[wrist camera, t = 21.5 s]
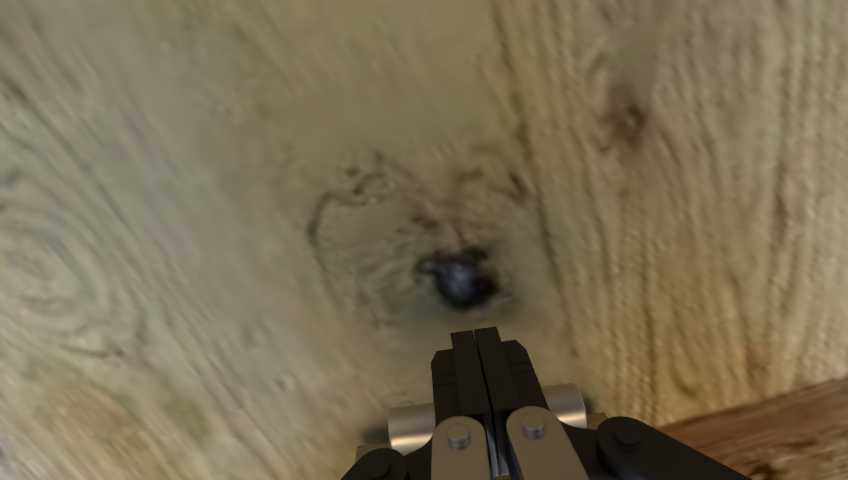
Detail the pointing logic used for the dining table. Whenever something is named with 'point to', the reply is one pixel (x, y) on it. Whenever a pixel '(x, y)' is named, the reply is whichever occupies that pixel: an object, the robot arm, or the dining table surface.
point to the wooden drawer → (418, 425)
